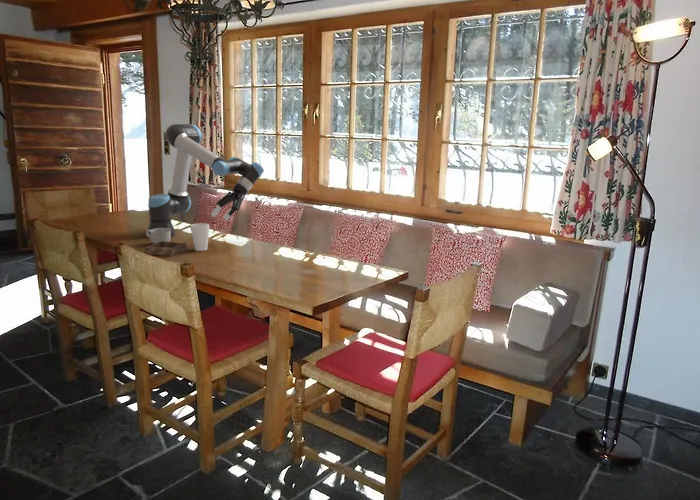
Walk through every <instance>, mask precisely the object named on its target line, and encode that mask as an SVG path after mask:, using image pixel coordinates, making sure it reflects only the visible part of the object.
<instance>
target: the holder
mask: <svg viewBox="0 0 700 500" xmlns="http://www.w3.org/2000/svg"><path fill="white" fill-rule="evenodd" d="M187 247H188V246H187V242H178V241H170V242H164V241H161V242H158V243H155V244H153V243H152V244H150V245H147V246H145V247H144V254H145V253H147V254H146V255H153V256H166V257H167V256H168V257H173V256H175V255H178V254H180V253H182V252H184V251H187Z"/></svg>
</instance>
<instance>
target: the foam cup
mask: <svg viewBox="0 0 700 500" xmlns="http://www.w3.org/2000/svg"><path fill="white" fill-rule="evenodd" d="M189 227H190V232H191V237H192V242H193V246H194V247H193V248H194V251H196V252H197V251H198V252H203V251H207V250H208V247H209V246H208V245H209V236H210V234H209V233H210V224H208V223H204V222H203V223H192V224H190V226H189Z"/></svg>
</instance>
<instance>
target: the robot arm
mask: <svg viewBox="0 0 700 500" xmlns="http://www.w3.org/2000/svg"><path fill="white" fill-rule="evenodd" d="M164 137H165V140H166V142H167V143H168V144H169V145H170V146H172V147H173V148H174V149H176V156H175V162H174V163H175V164H174V169H173V176H172V180H171V181H172V183H171V188H169V189H168V191H167V193H159V194H154V195H153V194H152V195H151V196H149V198H148V203H147V206H148V213H149V215H148V216H149V224H148V229H147V230H152V229H156V228H169V229H170V230H171V231H170V232H171V237H174V236H175V235H176V231H175V229H174V225H173V223H172V216H175V215H176V216H177V215H182V214H184V213H186V212H188V211H189V210H190V208H191V206H192V200H191V197H190V196H189V195H190V194H189V192H188V191H187V189H188V182H189V178H190V172H191V171H190V170H191V165H192V159H193V158H195V159H196V160H198V161H199V162H201V163H202V164H204V165H206V166H207V167H209V168H211V169H212V170H213V173H214V174H215V175H216V176H222V177H223V176H228V175H235V174H238V175H240V176H241V177H240V178H239V180H238V181H237V183H236V184H235V185H234V186H233V187H232V190H233V191H232V192H231V191H228V192H227V193H226V194H225V195H224V196H223V197H222V198H220V199H219V200H218V201H217V202H216V207H215V208H214V209H213V211H211V213H210V215H211V216H212V218H215V217H217V215H218V213H220V211H221V210H222V209H223V207H225V206H226V205H228V204H229V203H230V202H231V203H232V204H231V205H232V206H231V207H229V209H228V210H227V211H226V213H225V214H224V216H223V217H222V219H224V220H225V221H226V222H227V221H229V220H230V218H231V217H232V216H233V214H234V213H235V212H239V210H240V208H241V206H242V203H243V201H244V199H245V198H246V197H245V196H247V194H248V192H249V191H250V190H251V189H252V188H253V186H254V185H255V183H256V182H257V181H258V179H260V178H261V176H262V175H263V173H264V171H265V170H264V167H263V166H262V164H260V163H258V162H254V161H253V162H252V163H251V164H250V163H248V162H246V161H244V160H242V159H241V158H239V157H236V156H231V157H230V158H229V159H228V160H226V159H224V158H222V157H221V156H219V155H218V154H216V153H215V152H213V151H211V150H209V149H208V148H206V147H204V146H203V145H201V142H202V139H203V135H202V131H201V130H200V128H199V127H198V126H197V125H195V124H191V123H183V124H182V123H176V124H175V123H174V124H172V125H171V124H170V125H169V126H168V127H167V128H166V130H165V134H164ZM148 234H149V235H150V232H149V231H148Z"/></svg>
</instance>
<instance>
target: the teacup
mask: <svg viewBox="0 0 700 500" xmlns="http://www.w3.org/2000/svg"><path fill="white" fill-rule="evenodd" d="M148 231H149V232H150V235H149V234H148ZM170 231H171V230H170V229H169V228H156V229H152V230H148V229H147V230H146V231H145V235H146V237H147V238H149V239H150V242H151V243H152V244H155V243H158V242H161V241H164V242H171V240H172V239H171V237H172V236H171V232H170Z"/></svg>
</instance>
